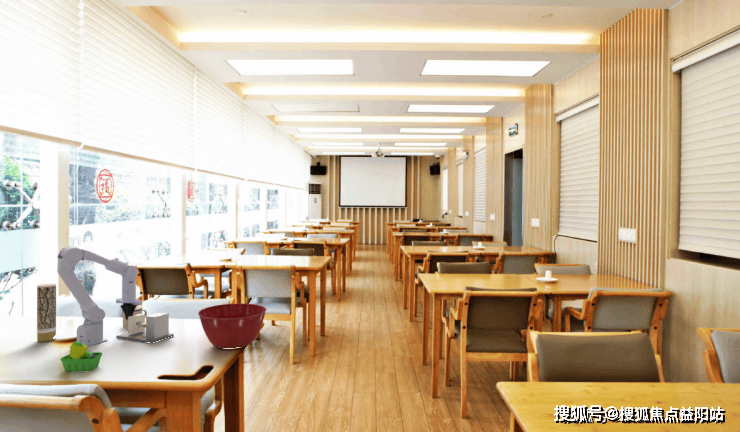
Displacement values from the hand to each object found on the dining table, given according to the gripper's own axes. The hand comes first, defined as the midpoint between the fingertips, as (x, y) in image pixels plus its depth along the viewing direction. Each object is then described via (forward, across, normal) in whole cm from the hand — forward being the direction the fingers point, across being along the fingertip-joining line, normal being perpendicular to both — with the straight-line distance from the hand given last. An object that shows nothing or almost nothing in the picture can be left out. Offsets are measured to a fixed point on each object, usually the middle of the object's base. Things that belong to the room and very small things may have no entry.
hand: (128, 319), depth 202 cm
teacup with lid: (+8, +12, -14) cm, 20 cm away
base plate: (+7, -10, 0) cm, 13 cm away
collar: (+6, -5, 0) cm, 8 cm away
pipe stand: (+6, -11, 0) cm, 13 cm away
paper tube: (+8, +27, +20) cm, 34 cm away
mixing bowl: (+8, -56, -6) cm, 56 cm away
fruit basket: (+8, -23, +39) cm, 46 cm away
